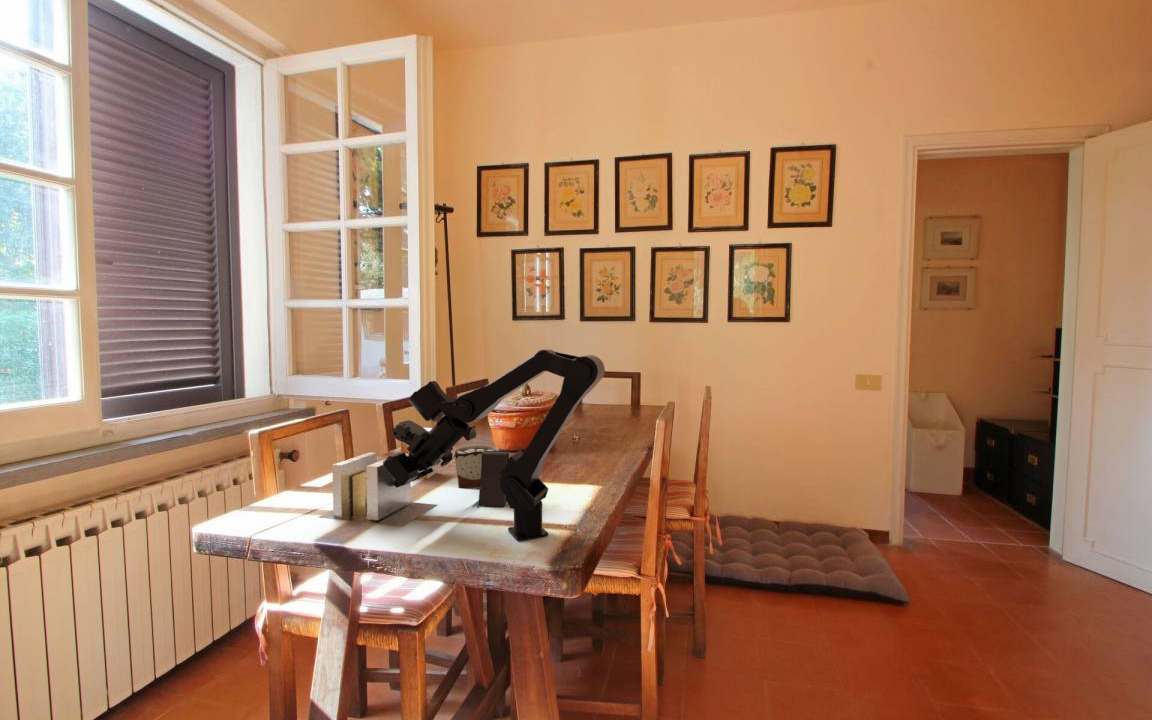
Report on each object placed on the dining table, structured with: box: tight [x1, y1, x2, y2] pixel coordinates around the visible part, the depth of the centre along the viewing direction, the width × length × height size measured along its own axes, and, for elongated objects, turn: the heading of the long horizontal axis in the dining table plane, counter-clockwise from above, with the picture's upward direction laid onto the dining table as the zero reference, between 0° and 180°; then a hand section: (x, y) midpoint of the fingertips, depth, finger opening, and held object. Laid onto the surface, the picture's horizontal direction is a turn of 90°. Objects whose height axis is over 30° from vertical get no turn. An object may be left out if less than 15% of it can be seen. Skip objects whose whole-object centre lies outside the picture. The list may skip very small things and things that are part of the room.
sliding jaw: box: [367, 454, 412, 520], centre depth 116 cm, size 2×12×11 cm, turn 165°
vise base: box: [318, 452, 438, 528], centre depth 117 cm, size 20×14×12 cm
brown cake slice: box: [452, 444, 500, 490], centre depth 142 cm, size 12×6×10 cm, turn 108°
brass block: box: [353, 471, 367, 515], centre depth 118 cm, size 3×6×8 cm, turn 165°
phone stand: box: [478, 450, 510, 508], centre depth 129 cm, size 9×6×12 cm, turn 175°
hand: (395, 485), depth 116 cm, fingers closed, pressing on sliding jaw
